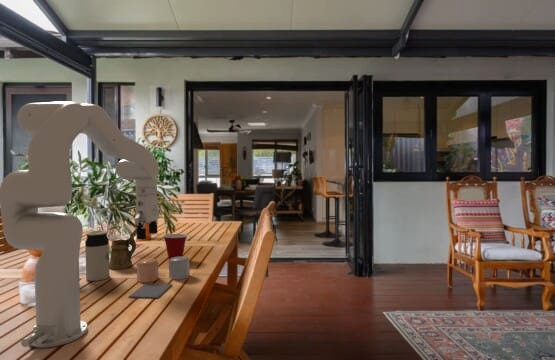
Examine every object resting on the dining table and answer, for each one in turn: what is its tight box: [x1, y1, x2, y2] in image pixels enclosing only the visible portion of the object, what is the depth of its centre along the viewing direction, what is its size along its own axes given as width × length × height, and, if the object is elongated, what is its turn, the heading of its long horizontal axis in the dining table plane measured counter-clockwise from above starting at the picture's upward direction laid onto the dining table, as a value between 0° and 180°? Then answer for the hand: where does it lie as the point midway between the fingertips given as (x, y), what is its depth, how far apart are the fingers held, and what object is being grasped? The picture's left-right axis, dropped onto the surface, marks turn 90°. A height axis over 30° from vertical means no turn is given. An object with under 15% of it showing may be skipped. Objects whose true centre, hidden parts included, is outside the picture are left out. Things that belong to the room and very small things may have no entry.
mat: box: [128, 283, 173, 299], centre depth 116 cm, size 12×10×1 cm
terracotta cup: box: [136, 258, 159, 283], centre depth 129 cm, size 7×7×7 cm
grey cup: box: [168, 255, 191, 280], centre depth 132 cm, size 7×7×7 cm
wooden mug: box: [109, 228, 137, 271], centre depth 145 cm, size 9×14×18 cm, turn 92°
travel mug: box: [84, 229, 110, 282], centre depth 130 cm, size 8×8×18 cm
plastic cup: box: [162, 233, 188, 262], centre depth 154 cm, size 11×11×12 cm
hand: (147, 236), depth 128 cm, fingers open, 9 cm apart
